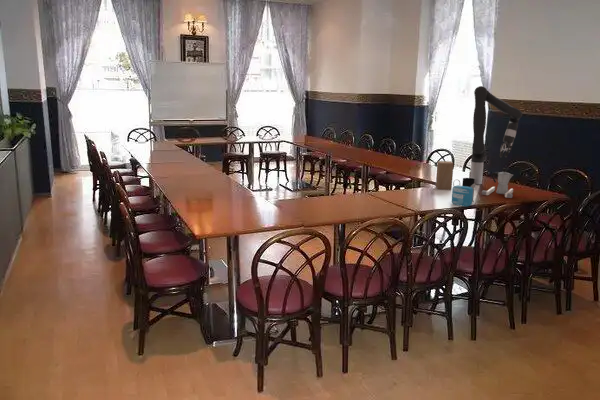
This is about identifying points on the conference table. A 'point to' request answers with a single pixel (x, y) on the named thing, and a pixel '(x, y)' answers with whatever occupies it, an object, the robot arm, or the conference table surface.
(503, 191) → the coffee maker
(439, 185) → the wooden block
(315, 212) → the conference table surface
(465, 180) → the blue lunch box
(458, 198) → the data package
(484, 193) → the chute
